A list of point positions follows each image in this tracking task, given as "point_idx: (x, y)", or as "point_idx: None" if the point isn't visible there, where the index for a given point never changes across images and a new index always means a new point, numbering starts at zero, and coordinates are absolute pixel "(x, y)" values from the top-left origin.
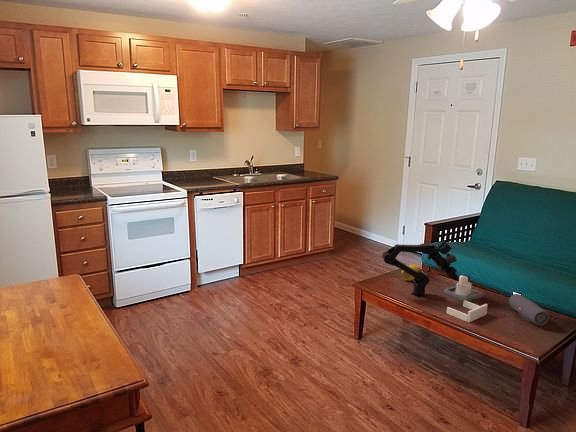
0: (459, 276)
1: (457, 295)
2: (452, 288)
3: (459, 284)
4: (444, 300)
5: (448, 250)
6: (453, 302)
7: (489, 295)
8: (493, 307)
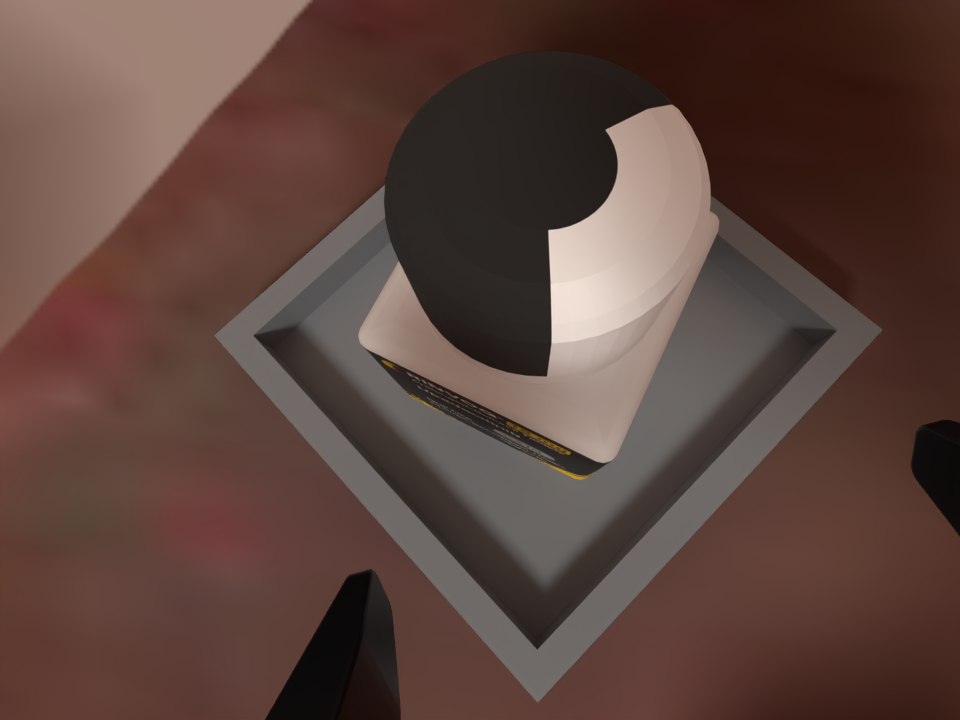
0: (542, 344)
1: (755, 462)
2: (412, 510)
3: (644, 390)
4: (908, 717)
5: None
6: (933, 554)
7: (439, 14)
8: (867, 17)
